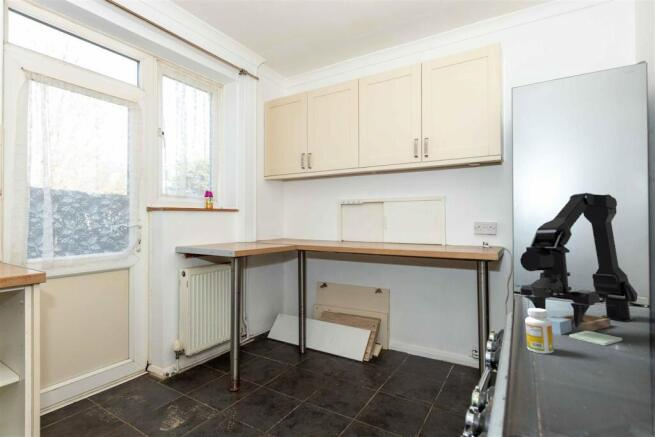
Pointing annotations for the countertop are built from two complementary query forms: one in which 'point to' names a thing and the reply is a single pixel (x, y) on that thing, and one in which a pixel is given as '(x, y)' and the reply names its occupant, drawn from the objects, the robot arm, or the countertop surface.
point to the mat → (595, 337)
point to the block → (560, 325)
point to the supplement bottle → (539, 331)
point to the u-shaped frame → (590, 322)
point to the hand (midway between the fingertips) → (559, 323)
